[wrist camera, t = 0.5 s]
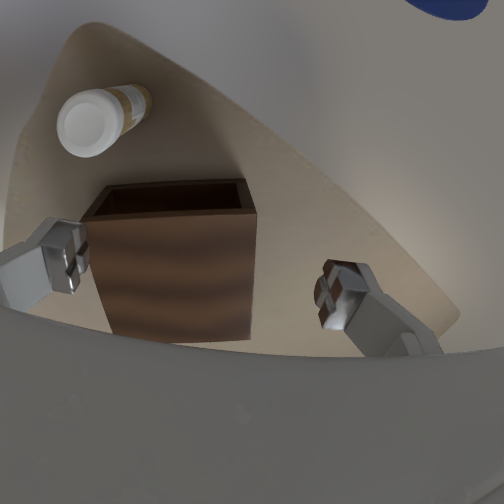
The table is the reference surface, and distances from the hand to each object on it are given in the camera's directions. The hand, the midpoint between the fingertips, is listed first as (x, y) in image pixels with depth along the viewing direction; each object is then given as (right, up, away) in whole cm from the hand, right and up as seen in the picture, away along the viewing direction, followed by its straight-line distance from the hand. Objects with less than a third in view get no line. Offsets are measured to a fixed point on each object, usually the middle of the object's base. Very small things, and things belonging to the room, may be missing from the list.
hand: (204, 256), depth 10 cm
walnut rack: (-7, +1, +27) cm, 28 cm away
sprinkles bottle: (-11, +15, +17) cm, 26 cm away
